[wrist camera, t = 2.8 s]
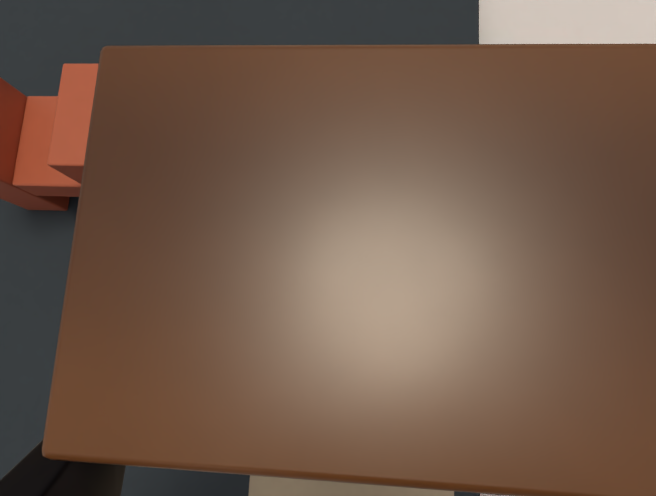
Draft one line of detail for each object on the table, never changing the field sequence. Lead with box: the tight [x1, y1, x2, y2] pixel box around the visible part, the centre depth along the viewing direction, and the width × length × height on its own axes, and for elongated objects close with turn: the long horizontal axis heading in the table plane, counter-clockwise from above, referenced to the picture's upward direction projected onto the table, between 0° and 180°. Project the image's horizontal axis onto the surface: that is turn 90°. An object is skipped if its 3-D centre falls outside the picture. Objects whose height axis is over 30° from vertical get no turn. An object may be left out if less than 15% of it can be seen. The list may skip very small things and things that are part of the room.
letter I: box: [42, 44, 656, 496], centre depth 11 cm, size 4×6×13 cm
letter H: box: [0, 64, 99, 211], centre depth 17 cm, size 3×6×5 cm, turn 87°
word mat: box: [0, 0, 480, 496], centre depth 20 cm, size 40×19×1 cm, turn 177°
